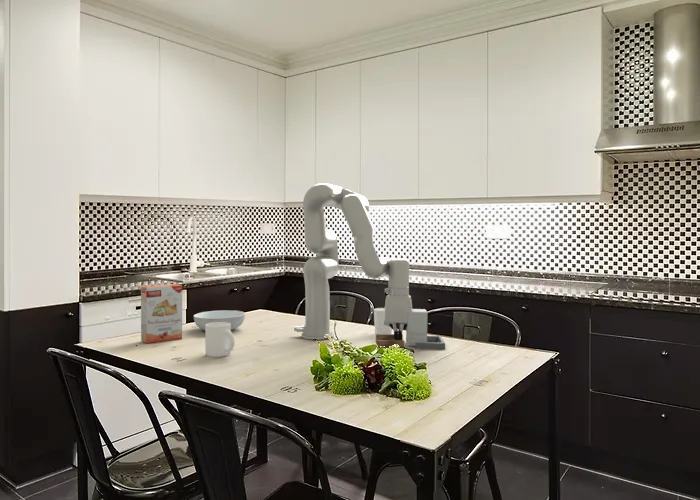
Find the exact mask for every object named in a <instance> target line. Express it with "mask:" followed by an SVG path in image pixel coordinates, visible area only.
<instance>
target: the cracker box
mask: <svg viewBox="0 0 700 500" xmlns="http://www.w3.org/2000/svg"><path fill="white" fill-rule="evenodd" d="M140 297H141V298H140V342H143V343H145V344H152V343H153V344H154V343H159V342H160V343H161V342H168V341H175V340H182V339H183V285H182V284H178V283H175V284H174V283H173V284H172V283H171V284H156V285H141V287H140Z"/></svg>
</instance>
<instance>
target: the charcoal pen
mask: <svg viewBox="0 0 700 500" xmlns="http://www.w3.org/2000/svg"><path fill="white" fill-rule="evenodd" d="M431 341H433V342H431ZM434 341H438V342H434ZM414 347H415V349H418V350H419V349H422V350H423V349H425V350H427V349H429V350H430V349H431V350H446V342H445V341H444V339H443V338H442V336H441V335H427V343H426V342H415V346H414Z"/></svg>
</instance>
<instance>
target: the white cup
mask: <svg viewBox="0 0 700 500" xmlns="http://www.w3.org/2000/svg"><path fill="white" fill-rule="evenodd" d="M384 314H385V307H377V308H374V309H373V321H374V325H373V326H374V334H375V335H376V334H393V332H392V331H393V329H392V328H391V327H390V326H386V325H384V320H385V318H384Z"/></svg>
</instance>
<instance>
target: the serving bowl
mask: <svg viewBox="0 0 700 500" xmlns="http://www.w3.org/2000/svg"><path fill="white" fill-rule="evenodd" d="M245 317H246V313H245V312H244V311H240V310H229V309H228V310H225V309H224V310H223V309H222V310H211V311H201V312H198V313H196V314H193V321H194V324H195V325H196V326H197V327H198V328H199V329H200V330H203V331H205V325H206V324H208V323H214V322H226V323H230V324H231V331H232V330H234V329H237V328H239V327H240V326H241V325H242V324H243V323H244V322H245V319H246V318H245Z"/></svg>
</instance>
